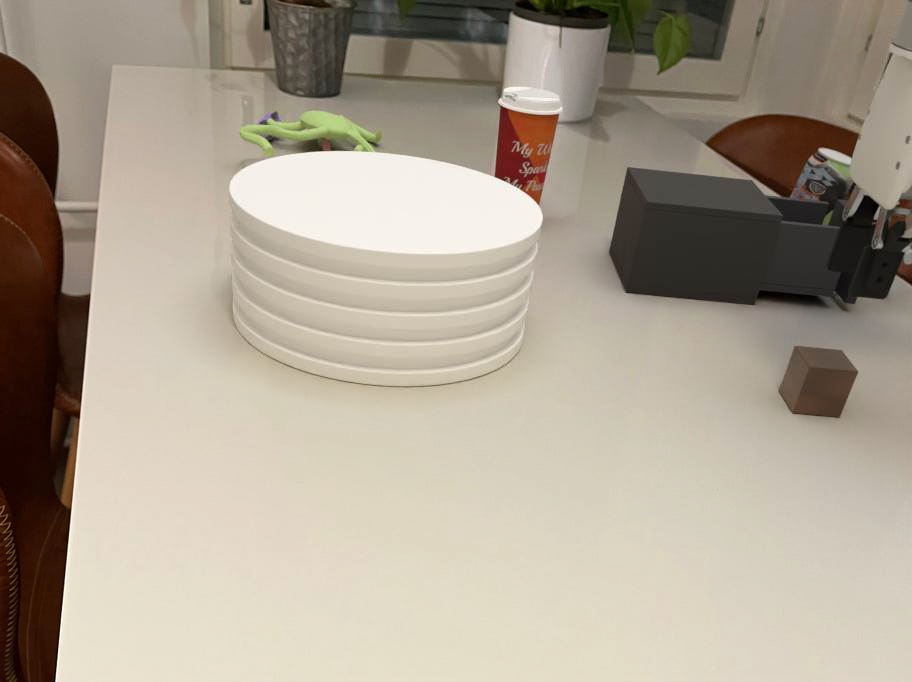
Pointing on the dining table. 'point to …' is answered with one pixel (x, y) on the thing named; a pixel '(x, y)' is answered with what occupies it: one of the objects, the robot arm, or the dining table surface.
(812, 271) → the dark grey panel
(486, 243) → the plate stack
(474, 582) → the dining table surface
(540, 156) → the paper cup
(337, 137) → the figurine
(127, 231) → the dining table surface
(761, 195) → the dark grey box
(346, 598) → the dining table surface
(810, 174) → the beverage can
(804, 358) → the block
